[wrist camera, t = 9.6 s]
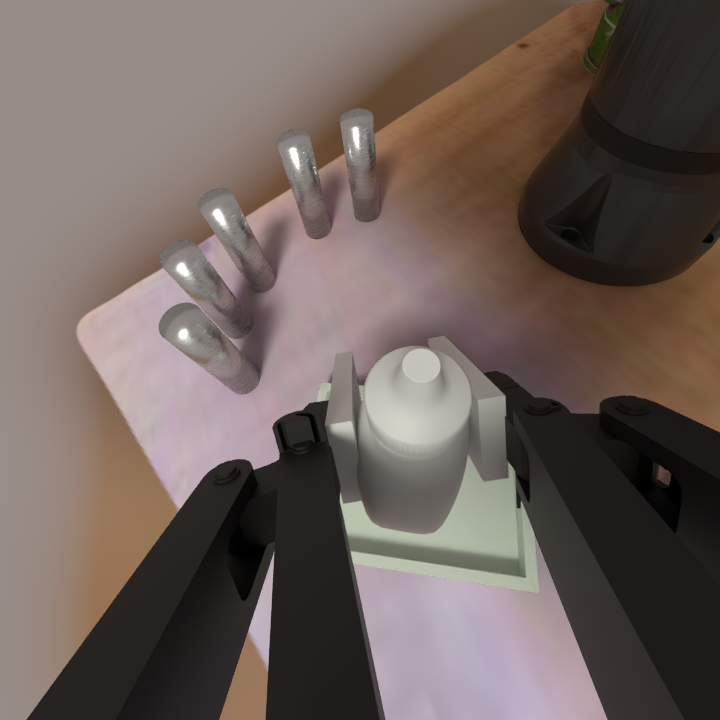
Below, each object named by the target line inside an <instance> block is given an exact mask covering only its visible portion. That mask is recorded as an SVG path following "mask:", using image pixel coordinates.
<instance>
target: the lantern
mask: <svg viewBox="0 0 720 720" xmlns="http://www.w3.org/2000/svg"><path fill="white" fill-rule="evenodd" d="M604 1H606V2H607V3H609V4H610V5H609V6H608V7H607V8H606V9H605V11H604V13H603V16H602V18H601V21H600V23H599V26H598V28H597V31H596V34H595V36H594V39H593V41H592V44H591V46H590V47H589V48H588V49H587V51H586V53H585V55H584V58H583V66H584V67H585V68H586V70H587V71H588V72H589V74H590V75H592V76H594V77H595V75H596V73H597V70H598V68H599V66H600V63H601V61H602V59H603V56H604V54H605V52H606V49H607V47H608V44H609V42H610V40H611V37H612V35H613V33H614V30H615V28H616V26H617V23H618V21H619V19H620V16H621V14H622V12H623V9H624V7H625V5H626V2H627V0H604Z"/></svg>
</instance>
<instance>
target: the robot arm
mask: <svg viewBox="0 0 720 720" xmlns="http://www.w3.org/2000/svg"><path fill="white" fill-rule="evenodd" d="M518 218H519V224H520V228H521V230H522V233H523V235H524V237H525V238H526V240H527V242H528V243H529V244H530V246H531V247H532V248H533V249H534V250H535V251H536V252H537V253H538V254H539V255H540V256H541V257H542V258H544V259H545V260H546V261H547V262H549V263H550V264H552V265H553V266H555V267H557V268H558V269H560V270H562V271H564V272H566V273H569V274H571V275H573V276H576V277H578V278H581V279H584V280H588V281H592V282H596V283H600V284H607V285H615V286H640V285H648V284H653V283H658V282H661V281H665V280H668V279H670V278H673V277H675V276H677V275H679V274H680V273H682V272H684V271H685V270H686V269H688V268H689V267H690V266H691V265H693V264H694V263H695V262H696V261H697V260H698V259H699V258H700V257H701V256H703V255H704V254H705V253H706V252H707V251H708V250H709V249H710V248H711V247H712V246H713V245H714V244H715V243H716V242H717V240H718V239H719V238H720V0H627V2H626V5H625V7H624V9H623V12H622V14H621V16H620V19H619V21H618V23H617V26H616V28H615V30H614V33H613V35H612V37H611V40H610V42H609V44H608V47H607V49H606V52H605V54H604V56H603V59H602V61H601V63H600V66H599V68H598V70H597V73H596V75H595V77H594V80H593V82H592V84H591V87H590V90H589V92H588V94H587V96H586V99H585V101H584V103H583V105H582V107H581V110H580V112H579V114H578V116H577V117H576V118H575V120H574V121H573V122H572V123H571V125H570V126H569V127H568V128H567V130H566V131H565V132H564V134H563V135H562V136H561V137H560V139H559V140H558V141H557V142H556V144H555V145H554V146H553V148H552V149H551V150H550V151H549V153H548V154H547V155H546V156H545V158H544V159H543V160H542V161H541V163H540V164H539V165H538V167H537V168H536V169H535V170H534V172H533V173H532V175H531V177H530V179H529V180H528V183H527V185H526V188H525V191H524V193H523V196H522V199H521V201H520V205H519V210H518ZM428 345H429V347H431V348H433V349H437V350H440V351H442V352H443V353H446V354H447V355H449V356H451V358H452V359H455V362H457V363H459V366H461V367H462V370H464V371H465V374H466V375H467V376H468V380H469V381H470V385H471V386H472V388H471V390H472V391H473V394H472V396H473V400H472V402H473V405H472V411H471V412H470V413H471V415H470V417H469V420H468V422H469V449H468V455H469V457H470V459H471V460H472V462H473V464H474V466H475V468H476V469H477V471H478V473H479V475H480V477H481V479H482V480H483V482H486V481H493V480H499V479H506V478H509V471H508V462H509V463H510V465H511V466H512V467H513V469H514V470H515V479H516V505H517V508H521V502H522V503H523V506H524V508H525V511H526V513H527V516H528V518H529V521H530V524H531V526H532V529H533V531H534V534H535V536H536V539H537V541H538V544H539V546H540V549H541V551H542V554H543V557H544V559H545V562H546V564H547V567H548V569H549V572H550V574H551V577H552V579H553V582H554V584H555V587H556V590H557V592H558V595H559V597H560V600H561V602H562V605H563V607H564V610H565V612H566V615H567V617H568V620H569V623H570V625H571V628H572V630H573V633H574V635H575V638H576V640H577V643H578V645H579V648H580V650H581V653H582V656H583V658H584V661H585V663H586V666H587V668H588V671H589V673H590V676H591V678H592V681H593V683H594V686H595V689H596V691H597V694H598V696H599V699H600V701H601V704H602V706H603V709H604V711H605V714H606V717H607V719H608V720H720V432H718V431H715V430H713V429H711V428H709V427H707V426H705V425H703V424H700V423H698V422H696V421H694V420H692V419H690V418H688V417H685V416H683V415H681V414H679V413H677V412H675V411H673V410H671V409H668V408H666V407H664V406H662V405H660V404H658V403H655V402H653V401H650V400H647V399H643V398H637V397H635V396H617V397H610V398H607V399H604V400H603V401H602V402H601V403H600V409H599V414H574V413H570V412H569V410H568V409H567V408H566V407H565V406H564V405H562V404H561V403H560V402H557V401H555V400H552V399H546V398H534V397H533V396H532V395H531V394H529V393H528V392H527V391H526V390H525V389H523V388H522V387H520V385H519V384H517V383H516V382H514V380H513V379H511V378H510V377H509V376H508V375H506V374H503V373H500V372H497V371H493V372H487V373H482V372H481V371H480V370H479V369H478V368H477V367H476V366H475V365H474V364H473V363H472V362H471V361H470V360H469V359H468V358H467V357H466V356H465V355H463V354H462V353H461V352H460V351H459V350H458V349H457V348H456V347H455V346H454V345H453V344H452V343H451V342H450V341H449V340H448V339H447V338H446V337H445V336H440V337H434V338H428ZM361 403H362V401H361V396H360V390H359V385H358V380H357V374H356V369H355V364H354V359H353V353H352V352H347V353H341V354H336V358H335V364H334V370H333V377H332V383H331V389H330V396H329V400H326V401H320V402H314V403H309V404H308V405H307V406H306V407H305V408H304V409H303V410H302V411H296V412H293V413H290V414H287V415H285V416H283V417H281V418H280V419H278V420H277V421H276V422H275V423H274V425H273V427H272V428H273V432H274V435H275V438H276V442H277V445H278V449H279V452H280V457H279V460H277V461H276V462H274V463H271V464H269V465H267V466H264V467H261V468H258V469H255V470H253V467H252V465H251V463H250V462H249V461H247V460H244V459H236V460H232V461H227V462H224V463H221V464H219V465H218V466H217V467H215V468H214V469H212V470H211V471H209V472H208V473H207V474H206V475H205V476H204V477H203V479H202V480H201V481H200V483H199V484H198V486H197V487H196V488H195V490H194V491H193V492H192V494H191V495H190V497H189V498H188V499H187V501H186V502H185V503H184V505H183V506H182V508H181V509H180V510H179V512H178V513H177V514H176V516H175V517H174V518H173V520H172V521H171V523H170V524H169V525H168V527H167V528H166V529H165V531H164V532H163V534H162V535H161V536H160V538H159V539H158V541H157V542H156V543H155V545H154V546H153V547H152V549H151V550H150V551H149V553H148V554H147V556H146V557H145V558H144V560H143V561H142V562H141V564H140V565H139V567H138V568H137V569H136V571H135V572H134V573H133V575H132V576H131V577H130V579H129V580H128V582H127V583H126V584H125V586H124V587H123V588H122V590H121V591H120V593H119V594H118V595H117V597H116V598H115V599H114V601H113V602H112V604H111V605H110V606H109V607H108V609H107V610H106V612H105V613H104V614H103V616H102V617H101V618H100V620H99V622H98V623H97V624H96V625H95V627H94V628H93V629H92V631H91V632H90V634H89V635H88V636H87V638H86V639H85V640H84V642H83V643H82V645H81V646H80V647H79V649H78V650H77V651H76V653H75V654H74V656H73V657H72V658H71V660H70V661H69V662H68V664H67V665H66V666H65V668H64V669H63V670H62V672H61V673H60V675H59V676H58V677H57V679H56V680H55V681H54V683H53V684H52V686H51V687H50V688H49V690H48V691H47V692H46V694H45V695H44V696H43V698H42V699H41V701H40V702H39V703H38V705H37V706H36V707H35V709H34V711H33V712H32V713H31V714H30V716H29V717H28V719H27V720H219V718H220V715H221V712H222V709H223V706H224V703H225V700H226V697H227V694H228V691H229V688H230V685H231V682H232V678H233V675H234V672H235V669H236V666H237V663H238V660H239V657H240V654H241V651H242V648H243V645H244V642H245V639H246V636H247V633H248V630H249V627H250V624H251V620H252V617H253V614H254V611H255V608H256V605H257V602H258V599H259V596H260V593H261V590H262V587H263V584H264V581H265V578H266V575H267V571H268V568H269V565H270V562H271V559H272V556H273V553H274V550H275V553H274V572H273V591H272V610H271V629H270V648H269V667H268V686H267V705H266V720H385V716H384V711H383V706H382V701H381V696H380V691H379V687H378V682H377V677H376V672H375V667H374V662H373V658H372V653H371V648H370V643H369V638H368V633H367V629H366V624H365V619H364V614H363V609H362V604H361V599H360V595H359V590H358V585H357V580H356V575H355V570H354V566H353V561H352V556H351V551H350V546H349V541H348V537H347V532H346V527H345V522H344V517H343V513H342V508H341V504H340V493H341V497H342V501H343V504H346V503H352V502H358V501H362V499H361V495H360V490H359V485H358V479H357V467H358V460H359V453H358V444H357V434H356V426H357V420H358V415H359V411H360V407H361ZM659 465H660V466H662V467H663V468H665V469H666V470H668V471H669V472H670V473H671V481H670V485H669V486H668V485H666V484H664V483H662V482H661V481H660V480H658V471H659Z"/></svg>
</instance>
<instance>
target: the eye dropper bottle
mask: <svg viewBox="0 0 720 720" xmlns="http://www.w3.org/2000/svg"><path fill="white" fill-rule="evenodd" d="M376 362H377V363H376V364H374V365H373V368H371V369H370V372H369V373H368V377H367V378H366V382H365V383H364V386H365V387H364V388H363V391H364V393H363V400H362V403H361V407H360V411H359V415H358V420H357V426H356V434H357V444H358V453H359V460H358V467H357V479H358V485H359V490H360V495H361V499H362V503H363V506H364V509H365V512H366V514H367V516H368V517H369V519H370V520H371V522H372V523H374V524H376V525H378V526H379V527H381V528H386V529H390V530H396V531H402V532H408V533H414V534H422V535H423V534H429V533H435V532H436V531H437V530H438V529H439V528H440V527H441V526H442V525H443V524H444V522H445V520H446V519H447V517H448V515H449V513H450V511H451V509H452V507H453V505H454V503H455V500H456V498H457V495H458V493H459V490H460V487H461V484H462V480H463V476H464V472H465V468H466V463H467V457H468V449H469V422H468V420H469V417H470V415H471V413H470V412H471V411H472V405H473V402H472V400H473V396H472V394H473V391H472V390H471V388H472V386H471V385H470V381H469V380H468V376H467V375H466V374H465V371H464V370H462V367H461V366H459V363H457V362H455V359H452V358H451V356H449V355H447V354H446V353H443V352H442V351H440V350H437V349H433V348H431V347H426V346H420V345H419V346H415V345H414V346H408V347H403V348H398V349H397V350H393V351H392V352H389V353H388V354H385V355H384V357H381V358H380V360H378V361H376Z"/></svg>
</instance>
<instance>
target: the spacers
mask: <svg viewBox="0 0 720 720" xmlns="http://www.w3.org/2000/svg"><path fill="white" fill-rule="evenodd" d="M340 125H341V131H342V137H343V144H344V150H345V157H346V163H347V170H348V176H349V183H350V189H351V196H352V202H353V208H354V215H355V217H356V219H357V220H359V221H362V222H370V221H373V220H375V219H376V218H377V217H378V216H379V214H380V206H379V193H378V179H377V165H376V151H375V138H374V124H373V115H372V113H371V112H370V111H368V110H366V109H353V110H350V111H348V112H346V113H344V114H343V115H342V117H341V118H340ZM277 146H278V149H279V152H280V155H281V158H282V161H283V164H284V167H285V170H286V173H287V176H288V179H289V182H290V185H291V189H292V192H293V195H294V198H295V201H296V204H297V207H298V210H299V213H300V216H301V219H302V222H303V225H304V228H305V231H306V234H307V235H308V236H309V237H310V238H313V239H320V238H323V237H325V236H327V235H328V234H329V233H330V231H331V224H330V220H329V216H328V212H327V207H326V203H325V199H324V195H323V191H322V187H321V183H320V178H319V174H318V170H317V166H316V162H315V158H314V153H313V150H312V145H311V141H310V137H309V134H308V132H307V131H305V130H302V129H292V130H288V131H286V132H284V133H282V134H281V135H280V136H279V137H278V139H277ZM198 207H199V210H200V211H201V213H202V214H203V216H204V217H205V219H206V220H207V222H208V223H209V225H210V227H211V228H212V230H213V231H214V233H215V234H216V236H217V237H218V239H219V240H220V242H221V244H222V245H223V247H224V248H225V250H226V251H227V253H228V254H229V256H230V257H231V259H232V261H233V262H234V264H235V265H236V267H237V268H238V270H239V271H240V273H241V274H242V276H243V278H244V279H245V281H246V282H247V284H248V285H249V287H250V288H251V290H253V291H254V292H265V291H268V290H269V289H271V288H272V287H273V285H274V284H275V281H276V277H275V275H274V273H273V271H272V269H271V267H270V265H269V263H268V261H267V259H266V257H265V255H264V253H263V251H262V249H261V248H260V246H259V244H258V242H257V240H256V238H255V236H254V234H253V232H252V230H251V228H250V226H249V224H248V222H247V220H246V218H245V216H244V215H243V213H242V211H241V209H240V207H239V205H238V204H237V201H236V199H235V197H234V195H233V193H232V192H231V191H230V190H228V189H225V188H218V189H213V190H211V191H209V192H207V193H206V194H205V195H203V196H202V197H201V199H200V200H199V203H198ZM160 264H161V266H162V267H163V268H164V269H165V270H166V271H167V272H168V273H169V275H170V276H171V277H172V278H173V279H174V280H175V281H176V282H177V283H178V284H179V285H180V286H181V287H182V288H183V289H184V291H185V292H186V293H187V294H188V295H189V296H190V297H191V298H192V299H193V300H194V301H195V302H196V303H197V304H198V305H199V307H200V308H201V309H202V310H203V311H204V312H205V313H206V314H207V315H208V316H209V317H210V318H211V319H212V320H213V322H214V323H215V324H216V325H217V326H218V327H219V328H220V329H221V330H222V331H223V332H224V333H225V334H226V335H227V336H228V337H229V338H232V339H238V338H241V337H244V336H245V335H247V334H248V333H249V331H250V330H251V328H252V319H251V318H250V316H249V315H248V314H247V312H246V311H245V310H244V308H243V307H242V306H241V304H240V303H239V301H238V300H237V299H236V297H235V296H234V295H233V293H232V292H231V291H230V289H229V288H228V287H227V285H226V284H225V282H224V281H223V280H222V278H221V277H220V276H219V274H218V273H217V272H216V270H215V269H214V268H213V266H212V265H211V264H210V262H209V261H208V259H207V258H206V257H205V255H204V254H203V253H202V251H201V250H200V249H199V247H198V246H197V245H196V243H194V242H193V241H191V240H180V241H177V242H174V243H172V244H170V245H169V246H168V247H166V248H165V249H164V251H163V252H162V254H161V256H160ZM199 307H198V306H197V305H195V304H192V303H181V304H178V305H175V306H173V307H172V308H170V309H169V310H168V311H167V312H166V313H165V314H164V315H163V316H162V318H161V320H160V323H159V332H160V334H161V336H162V337H163V338H165V339H166V340H167V341H169V342H170V343H171V344H172V345H174V346H175V347H176V348H178V349H179V350H180V351H181V352H183V353H184V354H185V355H187V356H188V357H189V358H190V359H192V360H193V361H194V362H196V363H197V364H198V365H199V366H201V367H202V368H203V369H205V370H206V371H207V372H208V373H210V374H211V375H212V376H214V377H215V378H216V379H217V380H219V381H220V382H221V383H223V384H224V385H225V386H226V387H228V388H229V389H230V390H232V391H233V392H234V393H236V394H247V393H249V392H251V391H252V390H254V389H255V388H256V386H257V385H258V383H259V379H260V375H259V371H258V370H257V369H256V368H255V367H254V365H253V364H252V363H251V362H250V361H249V360H248V359H247V358H246V357H245V356H244V355H243V354H242V353H241V352H240V351H239V350H238V349H237V347H236V346H235V345H234V344H233V343H232V342H231V341H230V340H229V339H228V338H227V337H226V336H225V335H224V334H223V333H222V332H221V331H220V329H219V328H218V327H217V326H216V325H215V324H214V323H213V322H212V321H211V320H210V319H209V318H208V317H207V316H206V315H205V314H204V312H203V311H202V310H201V309H200V308H199Z"/></svg>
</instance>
